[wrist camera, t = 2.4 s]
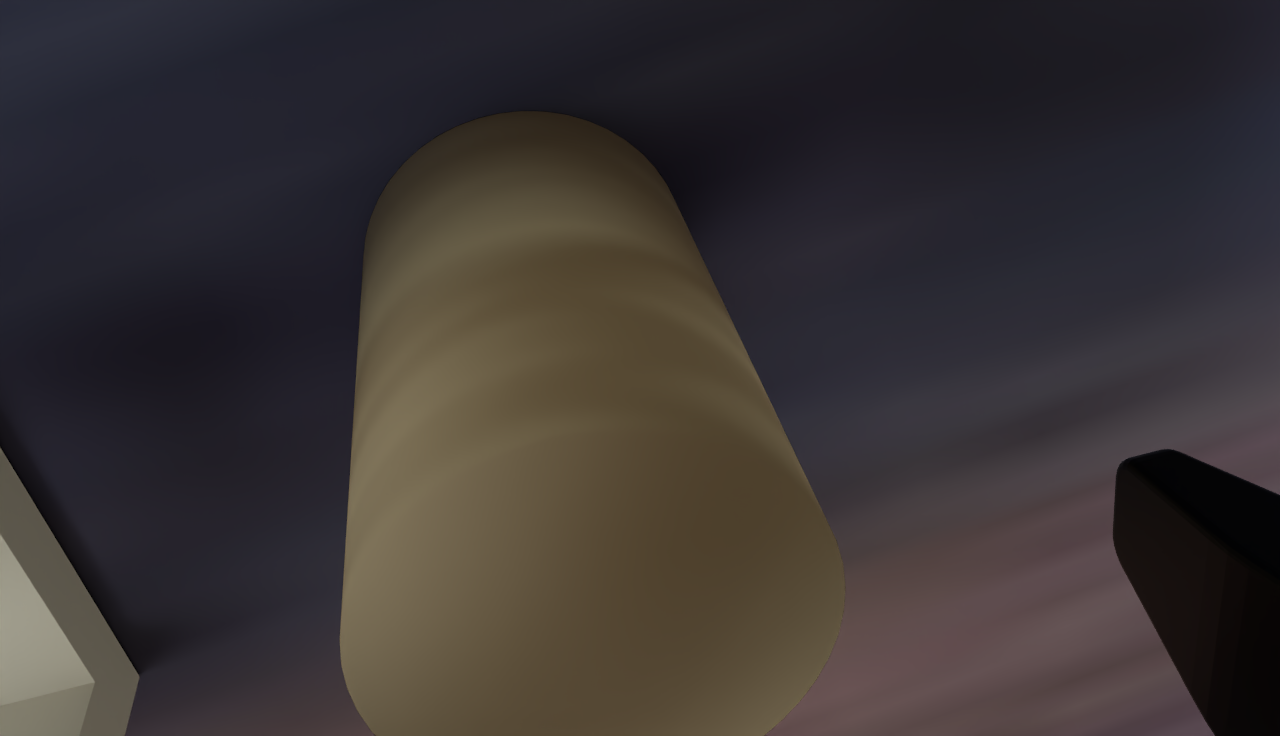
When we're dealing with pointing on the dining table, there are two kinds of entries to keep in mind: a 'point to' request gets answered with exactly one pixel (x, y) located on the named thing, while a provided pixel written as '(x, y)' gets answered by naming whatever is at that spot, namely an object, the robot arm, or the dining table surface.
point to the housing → (52, 634)
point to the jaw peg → (566, 461)
